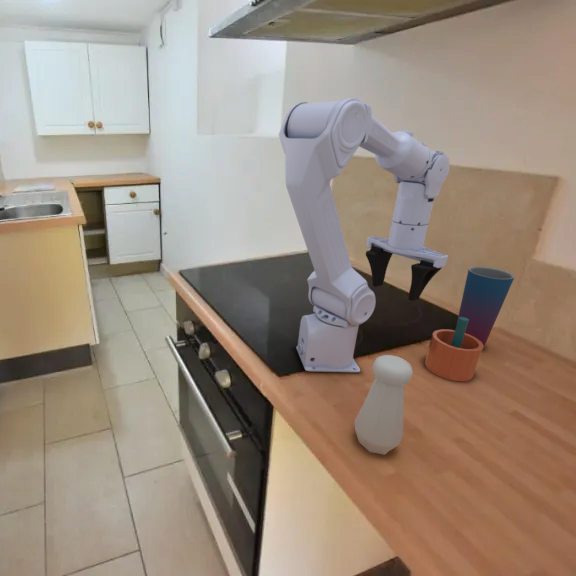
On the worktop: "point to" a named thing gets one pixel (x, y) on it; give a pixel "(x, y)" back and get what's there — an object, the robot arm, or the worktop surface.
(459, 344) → the straw
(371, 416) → the salt shaker
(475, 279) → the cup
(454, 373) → the orange round pot
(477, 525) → the worktop surface
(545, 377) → the worktop surface
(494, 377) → the worktop surface
